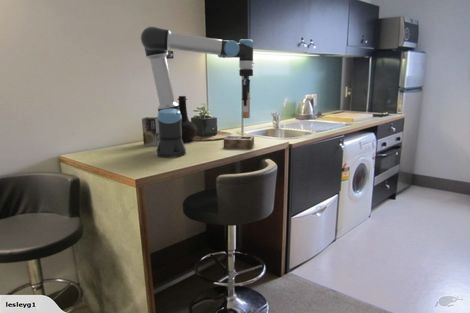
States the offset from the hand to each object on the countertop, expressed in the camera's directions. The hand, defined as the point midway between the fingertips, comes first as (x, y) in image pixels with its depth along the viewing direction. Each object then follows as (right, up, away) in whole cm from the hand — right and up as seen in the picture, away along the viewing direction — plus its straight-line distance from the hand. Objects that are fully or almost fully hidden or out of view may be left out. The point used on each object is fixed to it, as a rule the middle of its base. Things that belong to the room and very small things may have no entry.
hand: (246, 111), depth 196 cm
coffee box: (-56, -19, +11) cm, 60 cm away
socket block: (-4, -20, +6) cm, 21 cm away
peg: (0, -4, +1) cm, 4 cm away
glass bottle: (-39, -16, +23) cm, 48 cm away
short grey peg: (-8, -20, +6) cm, 22 cm away
